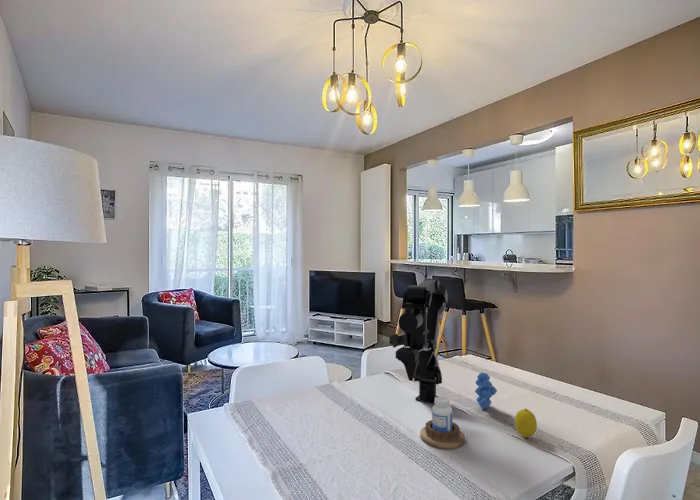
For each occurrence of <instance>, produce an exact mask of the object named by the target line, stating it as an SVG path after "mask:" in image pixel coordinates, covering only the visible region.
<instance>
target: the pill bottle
mask: <svg viewBox="0 0 700 500" xmlns="http://www.w3.org/2000/svg"><path fill="white" fill-rule="evenodd" d="M437 396H438V397H435V402H434V403H433V404H434V405H433V406H432V408H431V416H432V417H431V420H432V428H433V429H434V430H436V431H440V432H450V431H452V422H453V408H452V407H451V406H450V405H451V404H450V399H449V397H446V396H442V395H441V396H440V395H437Z"/></svg>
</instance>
